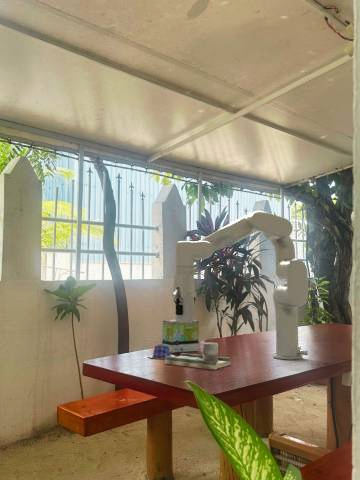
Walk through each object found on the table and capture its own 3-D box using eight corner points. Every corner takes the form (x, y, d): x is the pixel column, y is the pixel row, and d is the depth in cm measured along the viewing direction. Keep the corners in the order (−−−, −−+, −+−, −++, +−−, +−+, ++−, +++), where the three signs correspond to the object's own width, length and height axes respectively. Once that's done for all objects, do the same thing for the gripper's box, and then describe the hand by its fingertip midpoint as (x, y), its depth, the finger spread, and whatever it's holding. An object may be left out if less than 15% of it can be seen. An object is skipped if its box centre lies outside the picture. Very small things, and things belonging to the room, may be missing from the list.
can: (175, 321, 185) (175, 292, 187) (193, 321, 186) (192, 292, 187) (176, 323, 178) (176, 292, 179) (195, 322, 179) (194, 292, 180)
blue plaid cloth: (178, 356, 199) (178, 344, 199) (171, 360, 187) (171, 347, 188) (152, 355, 202) (152, 343, 203) (144, 359, 190) (144, 346, 191)
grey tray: (230, 364, 176) (230, 342, 176) (214, 369, 165) (214, 346, 166) (182, 359, 188) (182, 339, 189) (164, 363, 178) (164, 341, 179)
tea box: (172, 353, 206) (172, 321, 207) (161, 350, 214) (161, 319, 216) (199, 350, 214) (199, 319, 215) (187, 348, 222) (187, 318, 224)
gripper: (188, 271, 193) (188, 313, 192) (165, 270, 179) (165, 315, 177) (203, 271, 189) (203, 313, 187) (180, 270, 175) (180, 315, 173)
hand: (185, 314), depth 182 cm, fingers closed on can, 7 cm apart
